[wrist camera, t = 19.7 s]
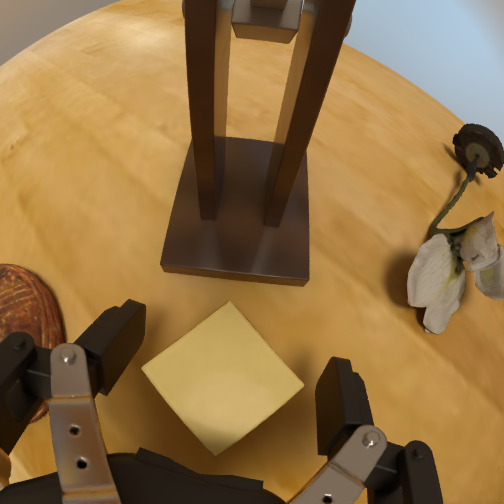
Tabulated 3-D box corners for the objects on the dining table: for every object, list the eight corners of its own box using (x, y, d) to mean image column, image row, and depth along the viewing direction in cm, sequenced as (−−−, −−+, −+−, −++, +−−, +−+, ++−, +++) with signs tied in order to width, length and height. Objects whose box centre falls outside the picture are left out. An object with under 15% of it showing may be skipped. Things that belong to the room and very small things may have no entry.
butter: (227, 330, 17) (230, 299, 10) (271, 380, 16) (306, 385, 9) (175, 370, 16) (139, 367, 9) (218, 422, 15) (215, 457, 8)
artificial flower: (484, 194, 26) (544, 172, 17) (402, 343, 21) (496, 360, 11) (446, 134, 26) (504, 98, 16) (342, 267, 21) (443, 249, 11)
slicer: (304, 286, 18) (466, 67, 4) (163, 271, 18) (59, 19, 3) (302, 157, 23) (362, -24, 8) (193, 145, 22) (186, -46, 8)
